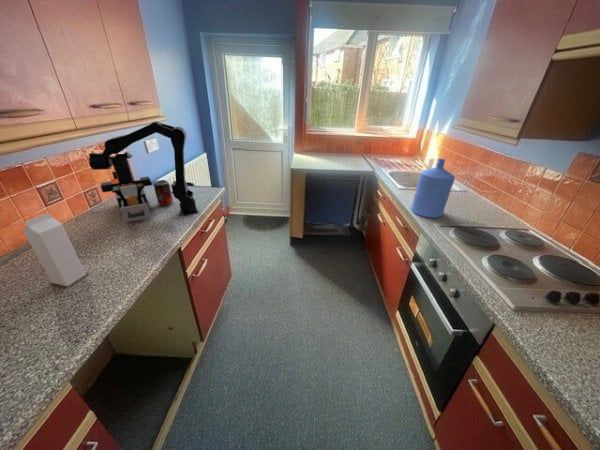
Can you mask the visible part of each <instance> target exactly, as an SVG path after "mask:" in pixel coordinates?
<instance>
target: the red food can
mask: <svg viewBox="0 0 600 450" xmlns="http://www.w3.org/2000/svg"><path fill="white" fill-rule="evenodd" d="M152 185H153V187H154V192H155V196H156V200H157V203H158V204H159V205H160V206H161V207H167V206H168V207H169V206H171V205H172V204H173V195H172V190H171V187H170V182H169V181H167V180H165V179H160V180H156V181H154V182H153V183H152Z"/></svg>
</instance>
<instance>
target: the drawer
mask: <svg viewBox="0 0 600 450" xmlns="http://www.w3.org/2000/svg"><path fill="white" fill-rule="evenodd" d="M137 198H138V197H137ZM138 202H139V204H137V205H133V206H129V205H128V204H127V201H126V203H125V202H124V201H123V200H122V199H121V205H122V208H120V207H119V210H120V213H121V216H122V219H123V222H124V223H129V222H135V221H139V220H145V219H149V218H151V217H152V216H151V212H150V210H149V209H150V207H149V208H148V206H149V204H148V205H147V203H145V201H144V199H143V196H140V201H139V200H138Z"/></svg>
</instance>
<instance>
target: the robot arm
mask: <svg viewBox="0 0 600 450" xmlns="http://www.w3.org/2000/svg"><path fill="white" fill-rule="evenodd" d="M154 134H159V135H161V136H163V137H166V138H168V139H170V142H171V145H172V148H173V152H174V153H173V157H174V173H175V180H173V181H172V183H171V189H172V190H171V195H172V194H173V195H172V196H173V197H174V198H175V199H176V200H178V202H179V203H178V205H179V210H180V212H181V214H183V215H184V216H187V215H191V214H197V213H198V209H197V205H196V200H195V198H194V194H195V193H194V192H193V191H191V190H190V189H189V187H188V183H187V180H186V171H185V169H186V167H185V146H186V141H187V132H186V130H185V129H184V128H183V127H181V126H172V125H169V124H167V123H166V124H165V123H162V122H160V121H157V120H155V121H152V122H151V123H150V124H147V125H145V126H143V127H140V128H138V129H137V130H135V131H132V132H129V133H127V134H123V135H118V136H114V137H111V138H109V139H107V140H106V141H104V150H103V152H90V153H89V154H88V156H89V157H88V160H89V162H88V164H89V166H90V168H91V169H92V170H94V171H99V170H101V171H102V170H111V168H113V169H114V171H111V174H112V176H113V179H114V180H117V182H114V183H113V181H104V182H101V183H100V189H101V192H102V193H109V192H111V193H113V194H115V195H116V194H117V195H119V196H120V197H121V198H122V200H123V201H124V202H125V203H126V199H125V198H124V195H123V193H122V191H121V189H120V188H121V187H128V186H135V185H136V188H137V195H138V200H139V201H140V196H141V191H142V189H143V190H144V189H145V187H149V186H152V185H153V182H152V179H151V177H150V176H143V177H139V179H137V180H135V179H134V176H133V172H132V169H131V166H130V163H129V159H131V158H132V157H133V154H131V153H129V152H128V151H125V152H124V153H121V152H123V151H124V150H125V149H127V148H128V147H129V146H131V145H132V144H134V143H137V142H139V141H141V140H143V139H145V138H147V137H150V136H152V135H154Z"/></svg>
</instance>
